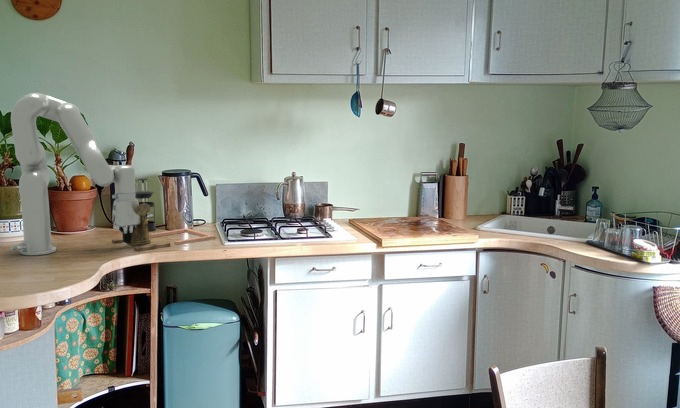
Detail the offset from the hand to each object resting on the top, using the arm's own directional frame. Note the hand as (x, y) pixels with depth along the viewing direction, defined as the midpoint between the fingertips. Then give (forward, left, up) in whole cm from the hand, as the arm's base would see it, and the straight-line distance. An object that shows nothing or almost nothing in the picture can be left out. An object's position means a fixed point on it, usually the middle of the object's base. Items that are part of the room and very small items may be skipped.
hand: (127, 242), depth 271 cm
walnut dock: (+6, 0, -2) cm, 6 cm away
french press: (+21, +26, -2) cm, 33 cm away
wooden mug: (+6, 0, -2) cm, 6 cm away
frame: (+24, 0, -2) cm, 24 cm away
